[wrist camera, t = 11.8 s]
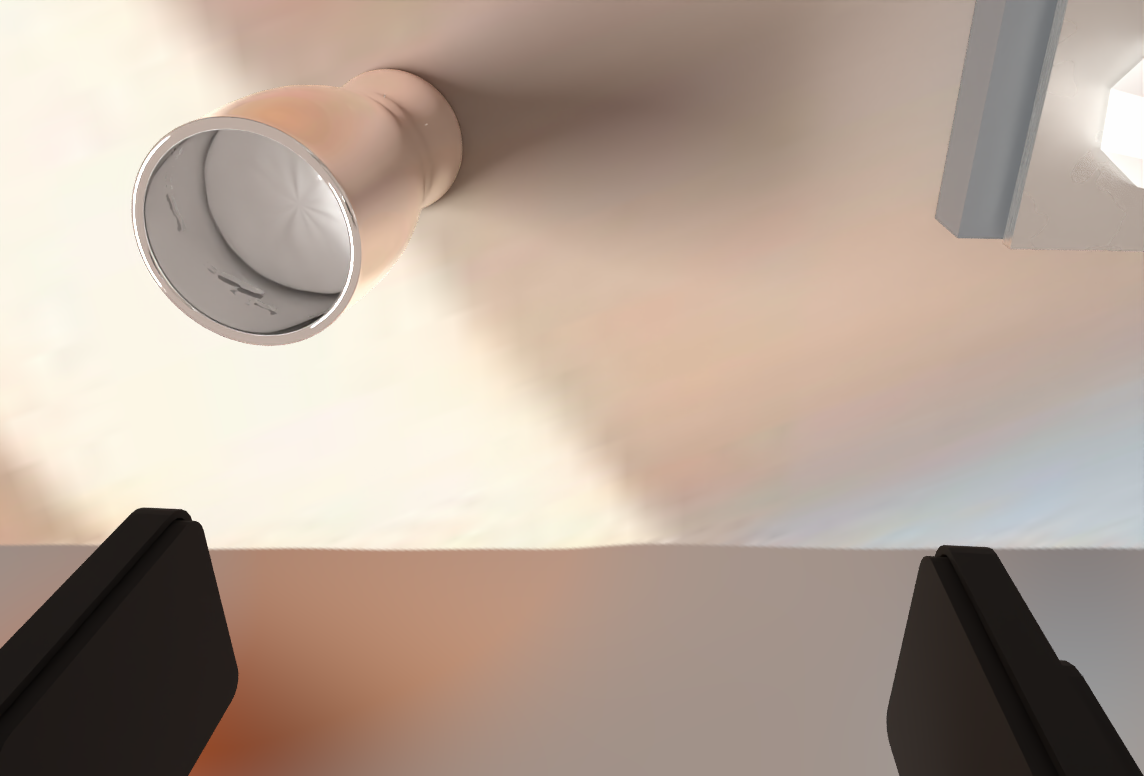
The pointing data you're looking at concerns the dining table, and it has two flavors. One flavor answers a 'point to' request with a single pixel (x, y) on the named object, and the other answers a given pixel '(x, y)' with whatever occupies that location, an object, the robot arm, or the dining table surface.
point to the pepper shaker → (1126, 125)
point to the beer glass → (292, 201)
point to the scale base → (993, 115)
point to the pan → (1079, 136)
